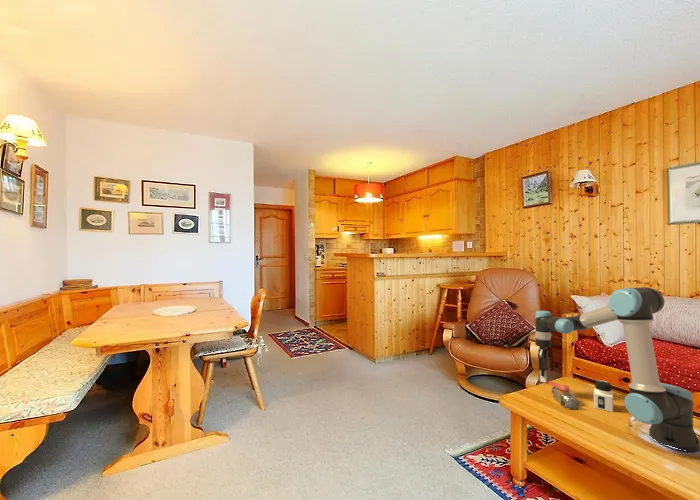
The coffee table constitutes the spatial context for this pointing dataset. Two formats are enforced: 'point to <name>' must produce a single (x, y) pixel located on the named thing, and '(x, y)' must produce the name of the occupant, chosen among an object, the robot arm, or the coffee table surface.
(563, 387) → the lever
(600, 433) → the coffee table surface
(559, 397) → the valve pipe
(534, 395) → the coffee table surface
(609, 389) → the container
